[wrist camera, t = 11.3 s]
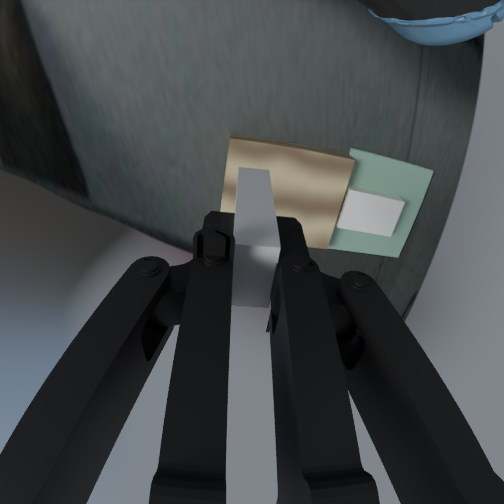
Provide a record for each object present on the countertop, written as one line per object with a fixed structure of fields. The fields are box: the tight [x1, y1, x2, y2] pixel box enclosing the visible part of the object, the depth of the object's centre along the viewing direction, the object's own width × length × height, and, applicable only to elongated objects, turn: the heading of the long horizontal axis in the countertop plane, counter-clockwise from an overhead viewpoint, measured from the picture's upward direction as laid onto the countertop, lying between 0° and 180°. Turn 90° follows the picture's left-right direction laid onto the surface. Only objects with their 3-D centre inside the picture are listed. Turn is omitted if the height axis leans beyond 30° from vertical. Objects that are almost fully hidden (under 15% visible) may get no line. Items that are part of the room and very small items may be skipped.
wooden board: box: [220, 134, 355, 249], centre depth 43 cm, size 14×16×2 cm
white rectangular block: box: [336, 184, 405, 237], centre depth 44 cm, size 9×6×2 cm, turn 80°
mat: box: [327, 148, 434, 257], centre depth 45 cm, size 16×14×1 cm
